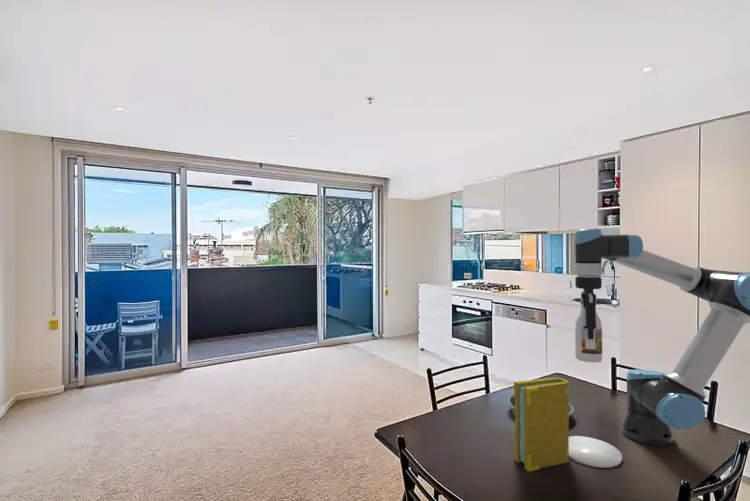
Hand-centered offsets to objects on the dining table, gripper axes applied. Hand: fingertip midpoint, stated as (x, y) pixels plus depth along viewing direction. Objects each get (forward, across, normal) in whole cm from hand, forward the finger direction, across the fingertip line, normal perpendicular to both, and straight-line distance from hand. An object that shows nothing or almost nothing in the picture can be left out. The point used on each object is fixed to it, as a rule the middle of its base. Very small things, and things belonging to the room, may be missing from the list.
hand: (588, 345), depth 128 cm
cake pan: (+36, -26, -15) cm, 47 cm away
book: (+35, +11, -14) cm, 40 cm away
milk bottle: (+5, 0, 0) cm, 5 cm away
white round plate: (+35, 0, 0) cm, 35 cm away
